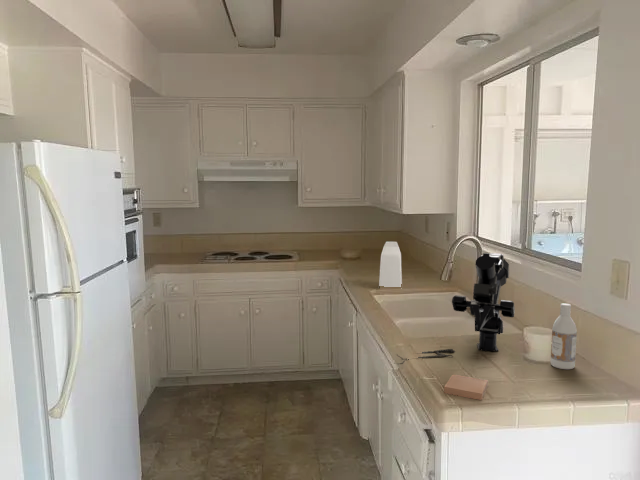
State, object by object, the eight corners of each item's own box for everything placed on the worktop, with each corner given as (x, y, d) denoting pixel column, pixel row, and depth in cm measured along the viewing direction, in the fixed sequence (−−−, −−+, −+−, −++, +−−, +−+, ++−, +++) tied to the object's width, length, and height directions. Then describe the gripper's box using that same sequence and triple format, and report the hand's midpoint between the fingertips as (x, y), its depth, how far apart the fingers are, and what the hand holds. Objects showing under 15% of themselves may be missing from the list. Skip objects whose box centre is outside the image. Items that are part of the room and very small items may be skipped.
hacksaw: (453, 352, 170) (453, 347, 170) (465, 359, 160) (465, 355, 160) (385, 357, 167) (385, 353, 167) (393, 365, 157) (393, 361, 157)
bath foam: (545, 363, 157) (548, 302, 155) (560, 360, 160) (564, 300, 158) (563, 371, 151) (567, 307, 149) (579, 368, 154) (583, 305, 152)
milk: (378, 289, 271) (379, 242, 268) (380, 285, 282) (381, 240, 279) (400, 290, 269) (401, 243, 266) (402, 286, 280) (402, 240, 277)
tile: (452, 374, 144) (444, 386, 135) (488, 380, 139) (482, 393, 130) (452, 381, 144) (444, 394, 135) (487, 388, 139) (481, 401, 131)
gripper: (453, 270, 159) (445, 311, 151) (515, 275, 151) (509, 319, 142) (458, 290, 167) (450, 330, 159) (516, 295, 159) (511, 338, 150)
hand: (479, 329), depth 152 cm, fingers closed
